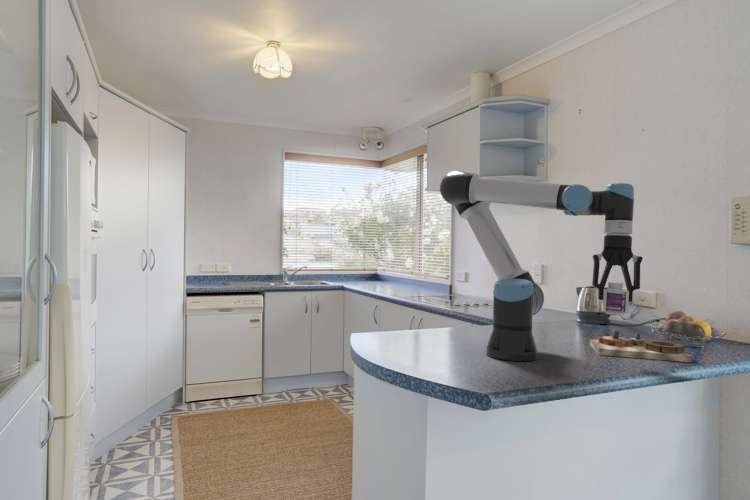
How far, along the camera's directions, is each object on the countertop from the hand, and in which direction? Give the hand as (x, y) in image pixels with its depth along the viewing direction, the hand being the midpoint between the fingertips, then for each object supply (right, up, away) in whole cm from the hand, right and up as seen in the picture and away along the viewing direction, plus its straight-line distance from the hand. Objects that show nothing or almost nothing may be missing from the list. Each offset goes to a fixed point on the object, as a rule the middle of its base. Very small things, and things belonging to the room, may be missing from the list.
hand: (614, 311), depth 142 cm
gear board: (+14, -15, +12) cm, 24 cm away
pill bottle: (0, -1, 0) cm, 1 cm away
